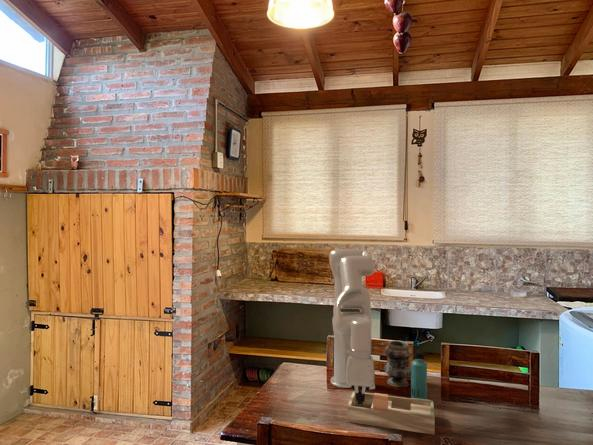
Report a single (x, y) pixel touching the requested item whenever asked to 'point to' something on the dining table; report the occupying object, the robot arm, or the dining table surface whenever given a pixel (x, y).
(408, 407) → the light wood long tray
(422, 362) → the beverage bottle
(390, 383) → the dark ribbed vase
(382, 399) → the block
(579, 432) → the dining table surface
